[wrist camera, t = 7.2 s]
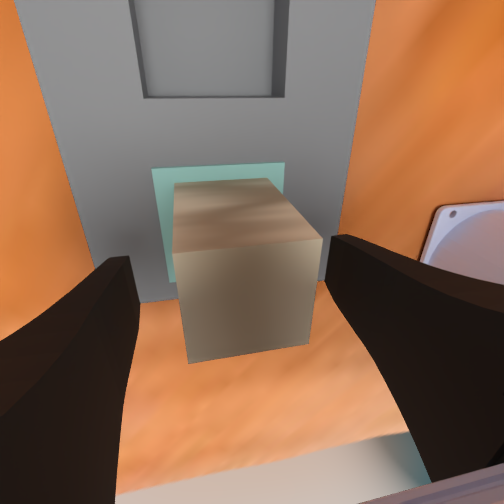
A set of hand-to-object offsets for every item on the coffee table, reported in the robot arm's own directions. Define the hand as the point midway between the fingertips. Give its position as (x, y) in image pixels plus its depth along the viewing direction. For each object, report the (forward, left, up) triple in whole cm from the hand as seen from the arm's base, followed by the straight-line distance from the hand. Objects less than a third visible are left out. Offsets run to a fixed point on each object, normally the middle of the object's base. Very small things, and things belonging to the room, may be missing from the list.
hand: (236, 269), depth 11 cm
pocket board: (0, -4, -6) cm, 8 cm away
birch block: (0, 0, -4) cm, 4 cm away
